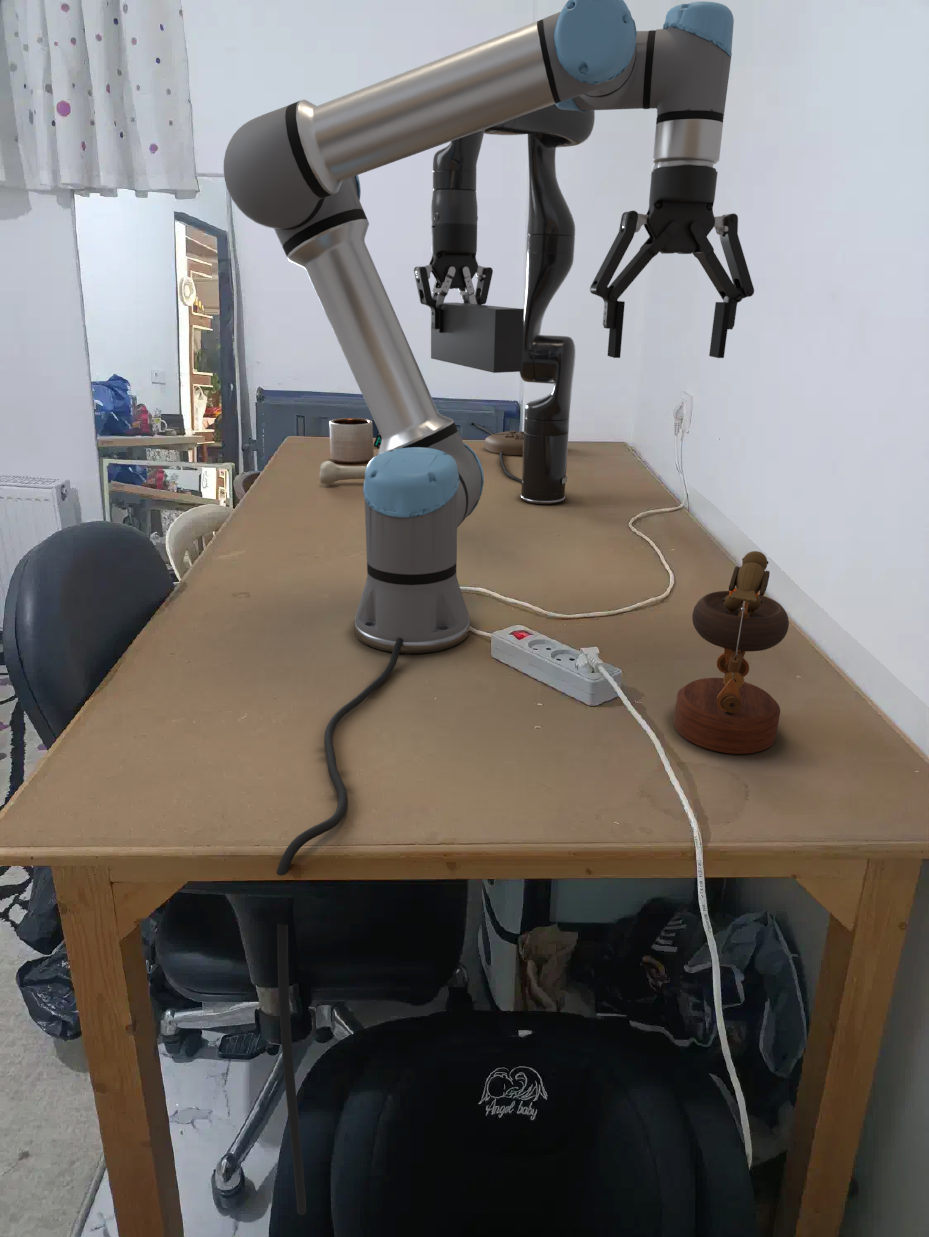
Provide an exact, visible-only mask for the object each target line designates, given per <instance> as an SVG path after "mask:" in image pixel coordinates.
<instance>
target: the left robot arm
mask: <svg viewBox="0 0 929 1237" xmlns="http://www.w3.org/2000/svg"><path fill="white" fill-rule="evenodd" d="M734 22H735V20H734V15H733V12H732V11H731V9H730V8H729V7H728V6H727V5H725V4H723V3H720V2H715V1H703V0H701V1H691V2H690V3H680V4H677V5H675V6H673V7H671V8H670V9H669V10H668V11H667V13H666V15H665V20H664V23H663V25H662V28H660V29H659V28H657V29H654V30H653V29H652V30H637V26H636V21H635V20H634V18H633V16H632V14H631V10H630V8H629V7H628V4H627V3H626V2H625V0H568V1H567V2H566V3H565V5H563V8H562V9H561V11H558V12H556V13H553V14H551V15H548V16H546V17H544V18H542V19H539V20H537V21H533V22H531V23H529V24H526V25H524V26H522V27H519V28H516V29H514V30H511V31H508V32H505V33H503V34H501V35H498V36H495V37H493V38H490V39H487V40H485V41H482V42H479V43H477V44H475V45H472V46H470V47H467V48H464V49H462V50H458V51H456V52H454V53H451V54H448V55H446V56H443V57H440V58H438V59H435V60H433V61H429V62H428V63H424V64H423V65H420V66H417V67H414V68H412V69H409V70H407V71H404V72H402V73H399V74H396V75H394V76H391V77H389V78H386V79H383V80H381V81H378V82H376V83H373V84H370V85H368V86H365V87H362V88H360V89H358V90H357V89H356V90H354V91H352V92H350V93H347V94H345V95H342V96H340V97H337V98H334V99H331V100H328V101H326V102H324V103H321V104H319V105H316V104H315V103H312V102H311V101H309V100H307V99H301V100H298V101H295V102H293V103H290V104H288V105H286V106H283V107H280V108H278V109H274V110H271V111H269V112H267V113H264V114H261V115H259V116H257V117H254V118H252V119H250V120H248V121H247V122H245V123H243V124H242V125H241V126H240V127H239V128H238V129H237V130H236V131H235V132H234V133H233V134H232V136H231V138H230V139H229V141H228V144H227V146H226V149H225V152H224V157H223V177H224V182H225V186H226V189H227V191H228V193H229V196H230V198H231V200H232V201H233V203H234V205H235V206H236V207H237V209H238V210H239V211H240V212H241V213H242V214H243V215H244V216H245V217H247V218H248V219H250V220H251V221H253V222H254V223H255V224H258V225H260V226H262V227H265V228H269V229H273V230H274V232H275V235H276V236H277V239H278V241H279V243H280V245H281V248H282V249H283V252H284V254H285V256H286V259H287V260H288V262H290V263H293V264H294V265H297V266H299V267H301V268H303V269H304V270H305V272H306V275H307V276H308V278H309V281H310V283H311V285H312V287H313V290H314V291H315V294H316V296H317V297H318V300H319V302H320V305H321V307H322V309H323V312H324V314H325V315H326V318H327V320H328V322H329V324H330V327H331V329H332V331H333V333H334V335H335V338H336V340H337V342H338V344H339V347H340V349H341V351H342V353H343V356H344V358H345V360H346V362H347V365H348V367H349V368H350V370H351V373H352V375H353V377H354V380H355V382H356V384H357V386H358V389H359V390H360V393H361V395H362V397H363V399H364V402H365V404H366V406H367V408H368V410H369V413H370V415H371V417H372V419H373V422H374V423H375V426H376V428H377V430H378V433H380V435H381V437H382V442H381V445H379V447H378V451H377V455H374V457H373V459H372V460H370V461H368V463H367V464H366V466H367V467H366V470H365V479H364V481H363V489H362V494H363V497H364V517H365V518H364V520H365V545H366V546H365V548H366V549H365V550H366V579H365V584H364V586H363V589H362V592H361V596H360V600H359V602H358V606H357V609H356V612H355V617H354V633H355V636H356V638H357V639H358V640H359V641H360V642H362V643H363V644H365V645H367V646H368V647H371V648H374V649H377V650H380V651H384V652H390V653H391V655H390V658H389V662H388V664H387V665H386V667H385V669H384V670H383V671H382V673H381V674H379V676H378V677H376V679H375V680H373V681H372V682H371V683H370V684H368V685H367V687H365V688H364V689H363V690H362V691H361V692H360V693H359V694H358V695H357V696H355V697H354V698H353V699H352V700H350V701H349V702H347V703H345V705H343V706H342V707H341V708H339V709H338V710H337V711H336V712H335V713H334V715H333V716H332V717H331V718H330V719H329V721H328V723H327V725H326V728H325V730H324V734H323V742H324V751H325V755H326V761H327V768H328V773H329V777H330V779H331V782H332V785H333V787H334V789H335V791H336V794H337V798H338V799H337V800H338V802H337V807H336V808H335V812H334V814H332V815H331V816H330V817H329V818H328V819H326V820H324V821H322V822H320V823H318V824H316V825H314V826H311V827H309V828H308V829H306V830H304V831H303V832H301V833H300V834H298V835H297V836H296V837H295V838H294V839H293V840H292V841H291V842H290V844H289V845H288V847H286V849H285V850H284V852H283V854H282V856H281V858H280V860H279V863H278V867H277V869H276V874H277V875H278V876H284V875H286V874H287V873H288V871H289V868H290V865H291V863H292V861H293V860H294V857H295V855H296V854H297V853H298V851H299V850H300V849H301V848H302V847H303V846H304V845H306V844H307V843H308V842H309V841H311V840H313V839H315V838H316V837H318V836H320V835H323V834H325V833H326V832H328V831H331V830H332V829H334V828H335V827H336V826H338V825H339V824H340V823H341V821H342V820H343V818H344V817H345V815H346V813H347V810H348V805H349V800H348V799H349V798H348V792H347V788H346V786H345V784H344V782H343V779H342V777H341V775H340V773H339V769H338V767H337V758H336V752H335V748H334V742H333V740H334V738H333V737H334V733H335V729H336V727H337V725H338V723H339V722H340V721H341V720H342V719H343V718H344V717H345V716H346V715H348V713H350V712H351V711H353V709H355V708H356V707H357V706H359V705H360V704H361V703H363V702H364V701H365V700H366V699H367V698H368V697H369V696H370V695H371V694H372V693H373V692H375V690H377V689H378V688H379V687H380V686H381V685H382V684H383V683H384V682H385V681H386V680H387V679H388V678H389V676H390V675H391V674H392V672H393V670H394V669H395V667H396V665H397V662H398V658H399V654H425V653H433V652H439V651H443V650H446V649H449V648H452V647H455V646H457V645H458V644H460V643H462V642H463V641H464V640H466V639H467V637H468V636H469V634H470V616H469V612H468V608H467V606H466V601H465V599H464V596H463V593H462V589H461V586H460V583H459V581H458V577H457V561H458V560H457V559H458V558H457V557H458V556H457V554H458V528H459V527H460V526H461V524H462V523H464V521H465V520H466V519H467V518H468V517H469V516H470V515H471V514H472V513H473V512H474V510H476V508H477V506H478V504H479V502H480V500H481V497H482V493H483V490H484V489H483V488H484V483H485V475H484V474H485V473H484V469H483V466H482V463H481V460H480V458H479V457H478V455H477V454H476V453H475V451H474V450H473V448H471V447H470V446H469V445H468V444H466V443H465V442H464V441H463V439H462V437H461V434H460V432H459V430H458V428H457V425H456V422H455V420H454V419H453V418H450V417H448V416H445V415H443V414H441V413H440V412H439V411H438V408H437V407H436V404H435V402H434V399H433V396H432V395H431V393H430V390H429V387H428V385H427V383H426V381H425V378H424V375H423V373H422V372H421V369H420V367H419V365H418V361H417V359H416V357H415V355H414V353H413V351H412V348H411V346H410V344H409V341H408V339H407V337H406V334H405V332H404V330H403V328H402V325H401V322H400V321H399V319H398V316H397V314H396V312H395V309H394V306H393V304H392V302H391V300H390V297H389V295H388V293H387V290H386V288H385V286H384V284H383V281H382V279H381V277H380V275H379V272H378V270H377V268H376V264H375V263H374V260H373V258H372V256H371V253H370V251H369V249H368V246H367V245H366V242H365V239H366V236H367V233H368V229H369V226H370V222H369V220H368V217H367V215H366V212H365V210H364V207H363V206H362V204H361V195H362V194H361V193H362V192H361V189H362V188H361V182H360V177H359V175H361V174H364V173H367V172H370V171H373V170H375V169H378V168H381V167H383V166H386V165H390V164H392V163H396V162H397V161H400V160H403V159H406V158H409V157H411V156H414V155H417V154H420V153H423V152H425V151H428V150H431V149H434V148H436V147H439V146H443V145H444V144H447V143H451V141H453V140H456V139H459V138H461V137H464V136H467V135H470V134H473V133H475V132H478V131H481V130H484V129H486V128H489V127H492V126H495V125H497V124H500V123H503V122H506V121H509V120H511V119H514V118H517V117H520V116H522V115H525V114H528V113H531V112H533V111H536V110H539V109H542V108H545V107H547V106H550V105H553V104H556V106H557V107H558V108H560V109H562V110H579V111H581V112H587V111H589V110H594V111H606V110H607V111H609V110H610V111H612V110H637V109H639V110H640V109H643V110H650V109H652V110H653V109H655V110H656V120H655V130H654V131H655V133H654V145H653V155H652V162H653V163H654V164H655V165H657V167H656V168H654V169H653V171H651V175H650V184H649V185H650V187H649V196H648V209H647V212H646V214H645V213H638V212H637V210H629V211H624V212H623V213H622V214H621V216H620V217H621V218H620V223H619V228H618V233H617V234H616V236H615V239H614V240H613V242H612V244H611V246H610V247H609V250H608V252H607V254H606V255H605V258H604V259H603V261H602V264H601V265H600V268H599V269H598V271H597V272H596V274H595V277H594V279H593V281H592V283H591V285H590V287H589V291H590V293H591V294H592V295H595V296H597V297H600V298H601V299H602V301H603V313H602V314H603V315H602V326H603V328H604V329H608V330H609V331H608V333H609V334H608V345H607V357H610V358H614V359H621V353H622V343H623V342H622V340H623V330H624V317H625V303H626V302H625V301H623V300H619V298H621V296H622V295H623V294H624V292H626V290H627V289H628V288H629V287H630V285H631V284H632V283H633V282H634V281H635V280H636V278H637V277H639V275H640V274H641V272H642V271H643V270H644V269H645V268H646V266H647V265H648V264H649V263H650V262H651V261H652V260H653V259H654V257H656V256H657V255H659V253H660V254H662V255H663V254H664V255H668V254H678V255H693V257H695V259H697V260H698V262H699V264H700V265H701V267H702V268H703V270H704V272H705V273H706V275H707V276H708V278H709V280H710V281H711V284H712V285H713V286H714V288H715V289H716V291H717V293H718V294H719V296H720V298H721V299H722V301H715V302H714V304H715V305H714V312H713V321H712V327H711V328H712V329H711V337H710V345H709V346H710V347H709V355H708V357H711V358H716V359H724V358H725V353H726V344H727V336H728V330H733V329H734V327H735V322H736V317H737V316H736V315H737V307H738V304H739V303H740V302H742V300H743V299H745V298H751V297H752V296H753V295H754V294H755V288H754V284H753V281H752V277H751V274H750V271H749V267H748V264H747V262H746V258H745V255H744V250H743V247H742V244H741V241H740V237H739V234H738V232H739V229H738V228H739V216H738V214H736V213H727V214H722V215H720V216H715V215H714V204H715V198H716V190H717V181H718V171H717V168H715V167H714V165H716V164H717V163H718V162H720V157H721V156H720V155H721V147H722V138H723V127H724V119H725V118H724V116H725V110H726V103H727V102H726V101H727V94H728V88H729V79H730V70H731V62H732V56H733V53H732V50H733V39H734V38H733V37H734V36H733V35H734V25H735V24H734ZM642 226H643V227H644V229H645V231H646V233H647V235H648V236H649V237H648V238H647V239H646V240H645V242H644V243H643V244H642V245H641V246H640V248H639V250H638V251H637V253H636V254H635V255H634V256H633V257H632V258H631V260H630V261H629V262H628V263H627V265H625V267H624V268H623V269H622V270H621V272H620V273H619V274H618V275H617V276H616V277H615V278H614V280H613V281H612V279H613V277H614V275H615V273H616V271H617V269H618V267H619V266H620V264H621V262H622V260H623V258H624V256H625V254H626V252H627V250H628V249H629V247H630V245H631V243H632V241H633V239H634V237H635V233H638V232H640V230H641V229H642ZM713 229H715V232H716V234H717V235H718V236H719V240H720V245H721V248H722V251H723V254H724V258H725V261H726V264H727V267H728V270H729V274H728V273H727V271H726V269H725V268H724V266H723V264H722V262H721V261H720V259H719V258H718V256H717V254H716V252H715V248H714V246H713V245H712V243H711V242H710V239H709V238H708V235H709V234H710V233H711V231H712V230H713ZM611 281H612V282H611ZM276 929H277V931H276V933H277V934H276V938H277V940H276V944H277V945H276V946H277V947H276V948H277V985H278V986H277V987H278V988H277V989H278V992H277V993H278V1008H279V1009H278V1010H279V1011H278V1012H279V1027H280V1041H281V1053H282V1064H283V1076H284V1077H283V1078H284V1087H285V1097H286V1106H287V1116H288V1117H287V1118H288V1125H289V1135H290V1144H291V1153H292V1154H291V1155H292V1162H293V1174H294V1184H295V1197H296V1199H295V1200H296V1210H297V1214H298V1216H304V1215H306V1213H307V1197H306V1184H305V1183H306V1182H305V1172H304V1161H303V1151H302V1150H303V1149H302V1140H301V1131H300V1130H301V1129H300V1121H299V1120H300V1119H299V1110H298V1097H297V1090H296V1087H297V1086H296V1077H295V1076H296V1075H295V1066H294V1055H293V1041H292V1040H293V1039H292V1026H291V1007H290V986H289V985H290V982H289V980H290V979H289V925H288V924H283V923H277V924H276Z"/></svg>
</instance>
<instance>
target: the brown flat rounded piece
mask: <svg viewBox="0 0 929 1237" xmlns="http://www.w3.org/2000/svg"><path fill="white" fill-rule="evenodd" d="M523 443H524V431H522V430H520V431H517V430H512V431H511V430H509V431H501V432H497V433H493V434H492V435H491V434H489V435H488V436H487V437H486V438H485V439H484V449H485V450H487V451H488V452H491V453H493V454H499V455H500V452H501V451H502V452H503V455H508V456H523Z"/></svg>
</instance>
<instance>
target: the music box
mask: <svg viewBox="0 0 929 1237" xmlns="http://www.w3.org/2000/svg"><path fill="white" fill-rule="evenodd" d="M741 561H742V562H741V566H735V567H734V569H733V572H732V575H731V578H730V582H729V585H728V590H719V591H714V592H710V593H707V594H706V595H704V596H702V597H701V598H700V599H699V600H698V601H697V602H696V604H695V606H694V607H693V610H692V616H691V618H692V624H693V627H694V629H695V630H696V633H697V634H698V635H699V636H700V637H701V638H702V639H703V640H705V641H706V642H708V643H710V644H712V645H714V646H717V647H719V648H721V649H723V650H724V651H723V653H721V654H720V655H719V656H718V657H717V659H716V667H717V669H718V671H719V672H721V673H722V674H724V675H723V677H706V678H704V677H703V678H699V679H695V680H692V681H691V682H689V683H687V684H686V685H684V686H682V687H681V688H679V690H678V691H677V694H676V700H675V709H674V716H673V725H674V728H675V729H676V731H677V732H678V734H680V735H681V736H682V737H683V738H684V739H686V740H687V741H689V742H690V743H692V744H694V745H696V746H698V747H700V748H701V747H702V748H704V749H707V750H710V751H715V752H720V753H725V754H735V755H741V754H742V755H743V754H744V755H745V754H754V753H759V752H762V751H765V750H767V749H768V748H770V747H771V746H772V745H773V744H775V741H776V739H777V738H776V737H777V732H778V728H779V727H778V726H779V722H780V716H781V707H780V704H779V703H778V702H777V701H776V699H775V698H774V697H773V696H772V695H771V694H769V692H767V691H766V690H764V689H763V688H761V687H759V686H756V685H754V684H751V683H749V682H747V681H745V678H744V677H746V676H747V675H748V673H749V671H750V665H749V662H748V661H747V660H746V659H745V654H746V653H747V652H760V651H765V650H769V649H771V648H774V647H775V646H777V645H779V644H780V643H781V642H782V641H783V640H784V638H785V637H786V636H787V634H788V631H789V627H790V619H789V615H788V613H787V611H786V609H785V607H783V605H782V604H780V603H779V602H778V601H776V600H775V599H772V598H771V597H767V596H765V594H766V591H767V589H768V588H767V587H768V585H769V584H768V583H769V580H770V571H769V570H766V569H767V567H768V565H769V563H770V562H769V561H768V558H767V556H766V555H765V554H764V553H763V552H761V551H758V550H752V551H750V552H747V553H746V554H745V555H744V556H743V557H742V559H741Z"/></svg>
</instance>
